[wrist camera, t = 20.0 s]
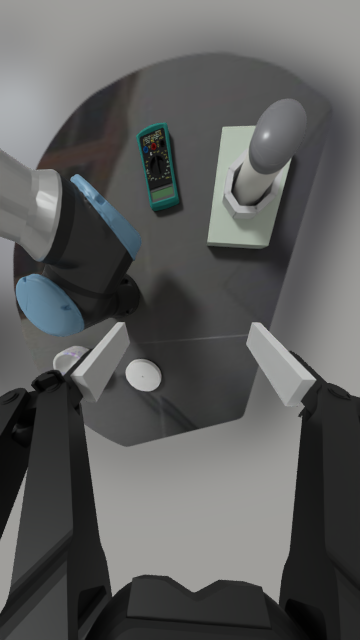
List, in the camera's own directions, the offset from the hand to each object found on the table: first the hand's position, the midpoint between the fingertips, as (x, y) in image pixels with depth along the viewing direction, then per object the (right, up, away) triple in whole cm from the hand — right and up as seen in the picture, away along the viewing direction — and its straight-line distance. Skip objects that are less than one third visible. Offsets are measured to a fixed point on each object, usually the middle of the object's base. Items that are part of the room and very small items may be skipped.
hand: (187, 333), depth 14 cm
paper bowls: (-39, -14, +41) cm, 58 cm away
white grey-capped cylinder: (+14, +29, +14) cm, 35 cm away
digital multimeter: (-6, +38, +20) cm, 43 cm away
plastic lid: (-15, -19, +40) cm, 46 cm away
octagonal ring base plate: (+14, +30, +18) cm, 38 cm away
